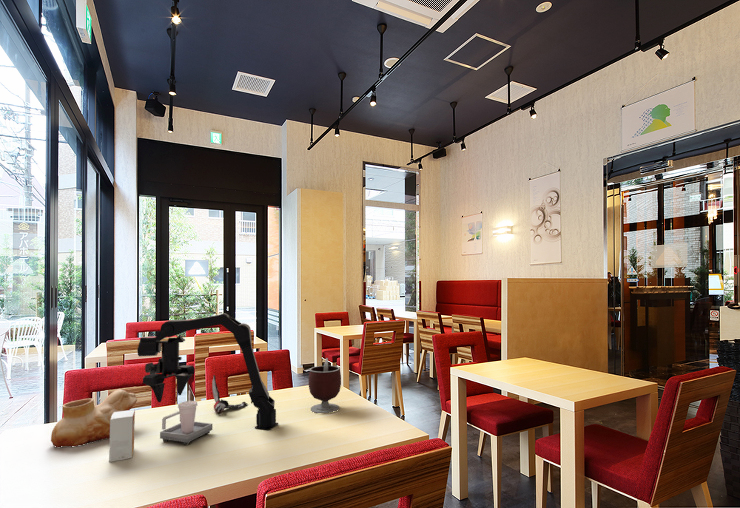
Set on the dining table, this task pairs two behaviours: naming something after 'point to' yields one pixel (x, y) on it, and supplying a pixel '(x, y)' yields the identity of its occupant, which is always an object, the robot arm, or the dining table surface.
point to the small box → (121, 435)
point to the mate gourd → (324, 386)
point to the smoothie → (187, 414)
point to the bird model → (222, 404)
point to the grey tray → (176, 431)
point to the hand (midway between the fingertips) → (169, 398)
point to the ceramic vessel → (89, 419)
